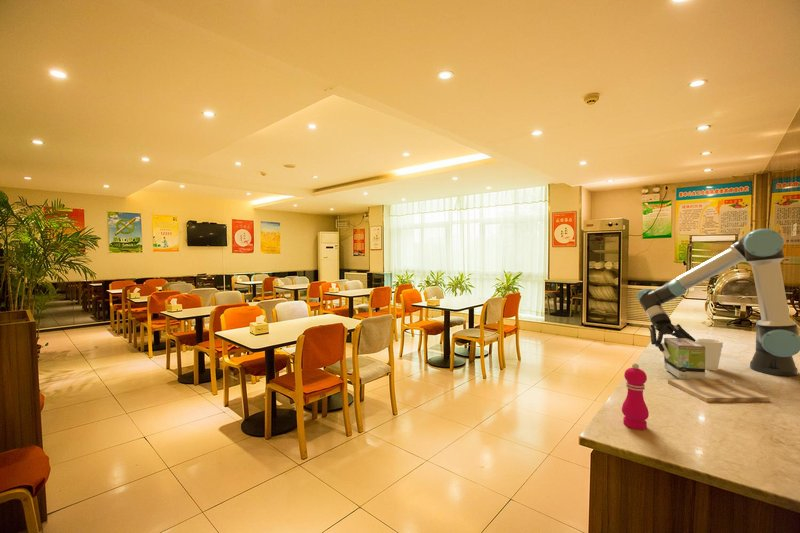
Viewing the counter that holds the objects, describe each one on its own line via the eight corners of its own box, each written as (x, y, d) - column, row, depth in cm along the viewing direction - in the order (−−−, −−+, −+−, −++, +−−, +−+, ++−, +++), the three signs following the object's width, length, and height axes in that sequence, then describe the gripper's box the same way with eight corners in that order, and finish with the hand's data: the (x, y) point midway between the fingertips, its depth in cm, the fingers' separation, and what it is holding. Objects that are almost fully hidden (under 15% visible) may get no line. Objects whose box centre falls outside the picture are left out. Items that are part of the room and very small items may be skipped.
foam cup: (700, 369, 167) (700, 342, 167) (692, 364, 176) (693, 337, 175) (726, 372, 164) (726, 343, 163) (717, 366, 172) (717, 339, 172)
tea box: (706, 380, 151) (706, 345, 150) (678, 379, 154) (677, 345, 153) (688, 369, 165) (688, 337, 165) (663, 368, 168) (662, 336, 168)
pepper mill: (616, 420, 118) (617, 360, 118) (637, 419, 119) (637, 359, 118) (632, 431, 111) (633, 367, 110) (654, 430, 112) (655, 366, 111)
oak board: (723, 382, 151) (723, 379, 151) (769, 401, 132) (769, 397, 132) (668, 383, 151) (668, 379, 151) (706, 402, 132) (706, 397, 132)
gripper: (678, 321, 178) (704, 360, 164) (630, 321, 179) (651, 361, 164) (687, 312, 173) (714, 352, 158) (637, 313, 173) (659, 353, 158)
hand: (682, 357), depth 161 cm, fingers closed on tea box, 12 cm apart
